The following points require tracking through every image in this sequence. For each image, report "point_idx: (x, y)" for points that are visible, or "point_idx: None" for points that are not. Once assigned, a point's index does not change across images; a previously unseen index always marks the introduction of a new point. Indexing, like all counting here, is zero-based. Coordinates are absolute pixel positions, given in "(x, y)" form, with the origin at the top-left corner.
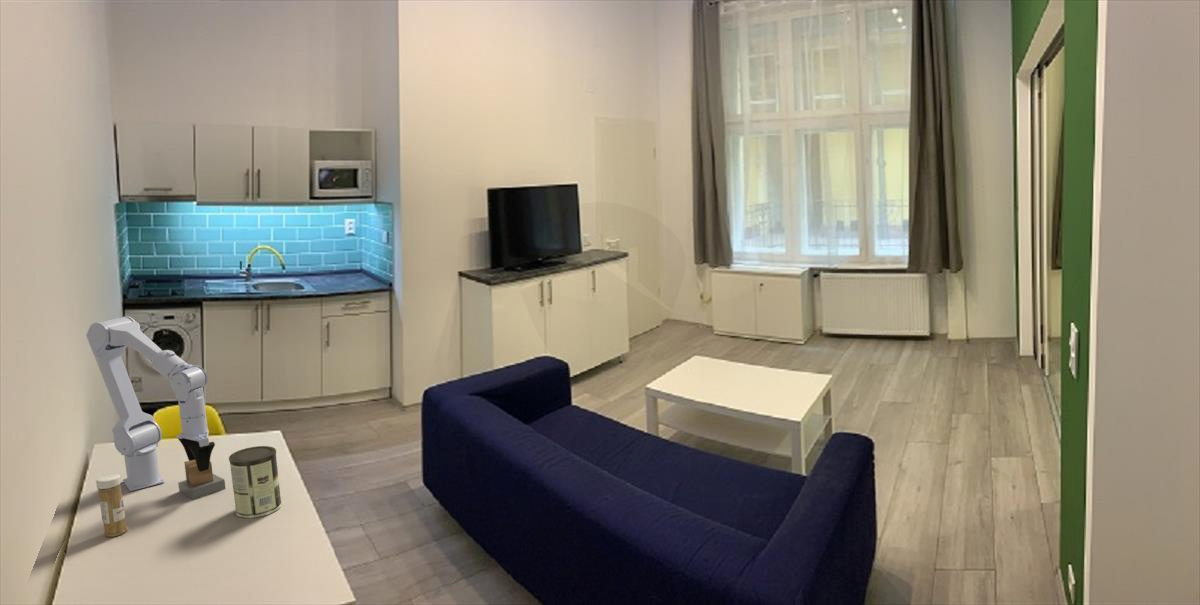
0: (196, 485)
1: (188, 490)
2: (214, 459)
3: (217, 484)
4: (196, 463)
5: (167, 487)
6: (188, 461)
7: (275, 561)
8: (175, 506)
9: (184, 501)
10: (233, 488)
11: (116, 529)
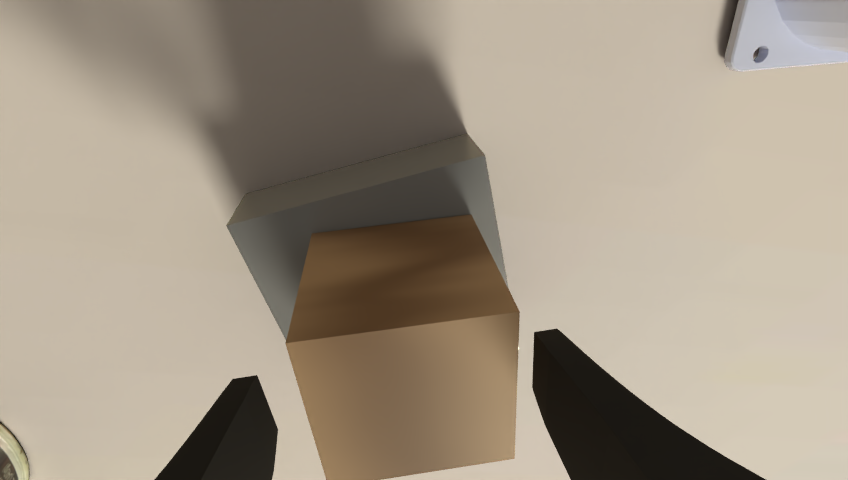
0: None
1: (303, 196)
2: (807, 350)
3: None
4: (211, 443)
5: (619, 72)
6: (508, 344)
7: None
8: (166, 65)
9: (242, 138)
10: None
11: None
